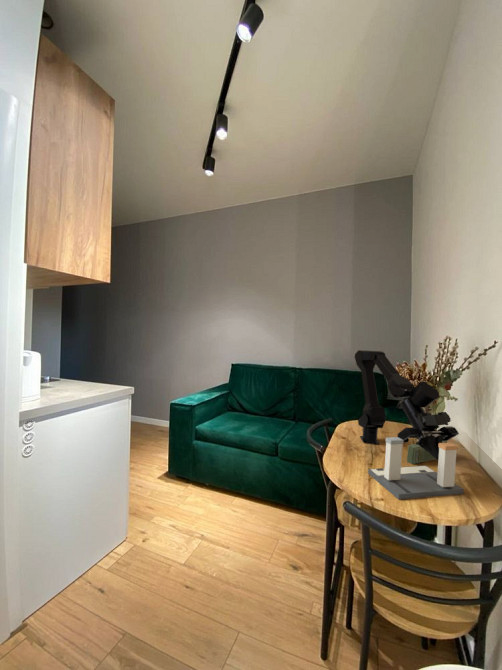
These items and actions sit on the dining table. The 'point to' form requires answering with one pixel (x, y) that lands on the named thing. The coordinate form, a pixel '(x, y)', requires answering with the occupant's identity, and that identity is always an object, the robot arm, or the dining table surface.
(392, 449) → the lever
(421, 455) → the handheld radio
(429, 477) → the switch bank
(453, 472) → the lever
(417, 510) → the dining table surface
